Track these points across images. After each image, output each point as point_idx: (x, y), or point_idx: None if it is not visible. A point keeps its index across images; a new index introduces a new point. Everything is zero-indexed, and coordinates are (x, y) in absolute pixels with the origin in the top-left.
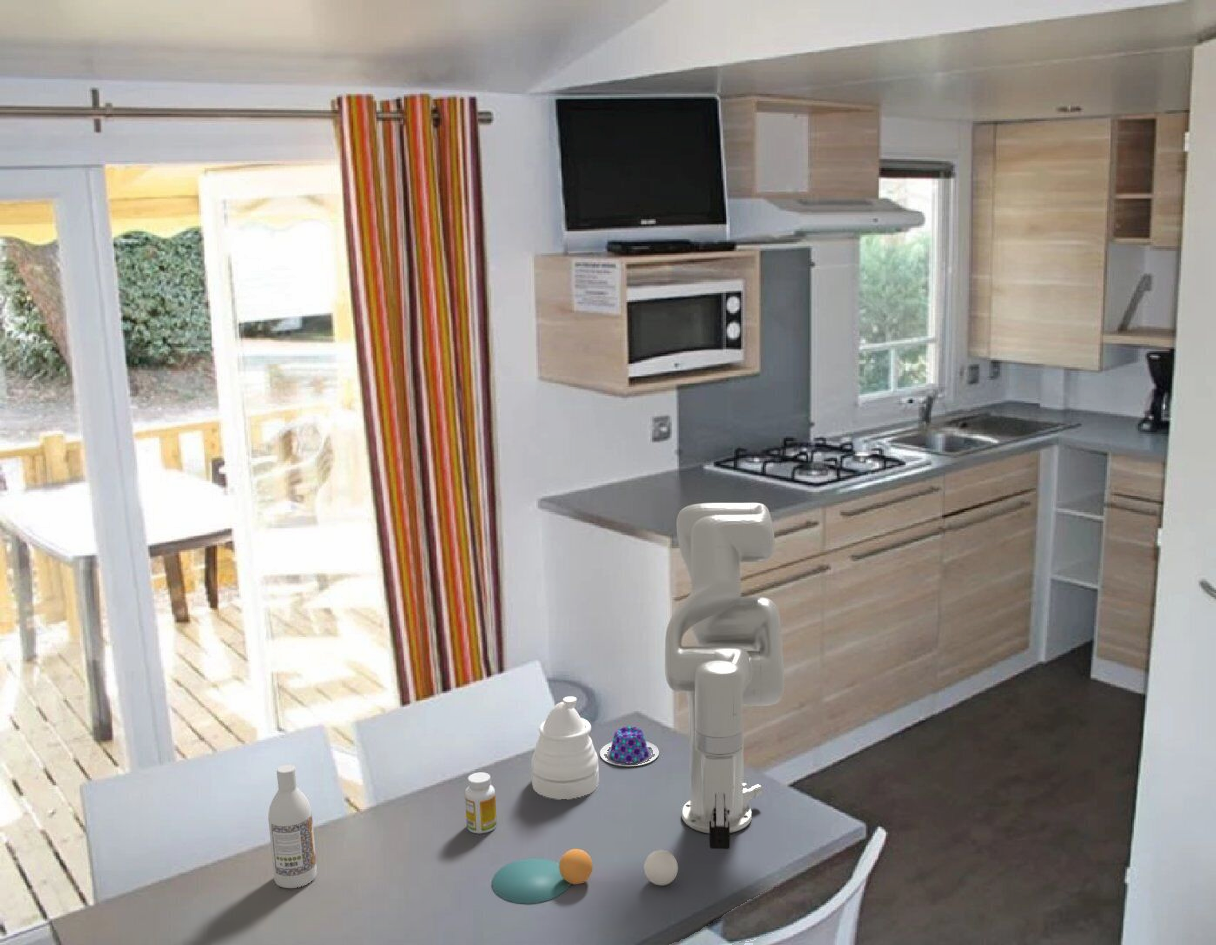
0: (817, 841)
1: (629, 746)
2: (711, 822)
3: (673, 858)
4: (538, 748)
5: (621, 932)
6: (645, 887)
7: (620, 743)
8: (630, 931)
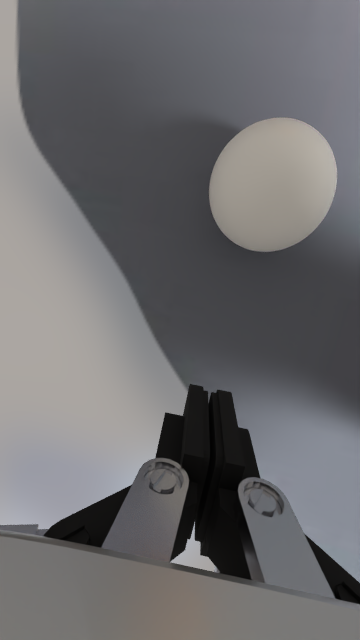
0: None
1: None
2: (129, 490)
3: (259, 234)
4: None
5: (30, 37)
6: None
7: None
8: (34, 68)
